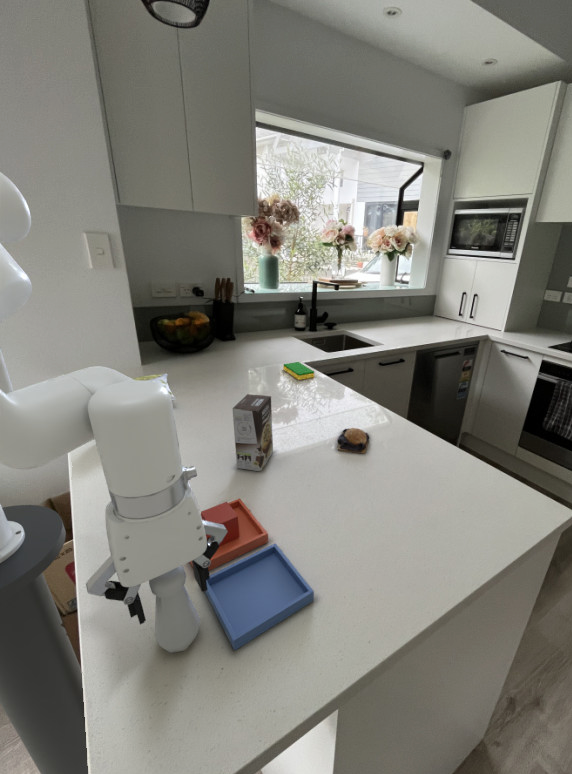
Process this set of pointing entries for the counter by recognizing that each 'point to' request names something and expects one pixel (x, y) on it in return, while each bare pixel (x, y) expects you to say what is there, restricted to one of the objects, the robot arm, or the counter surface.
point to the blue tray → (256, 594)
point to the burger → (353, 440)
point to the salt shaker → (174, 611)
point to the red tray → (248, 540)
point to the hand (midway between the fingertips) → (171, 598)
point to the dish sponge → (298, 370)
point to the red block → (223, 520)
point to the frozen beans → (157, 381)
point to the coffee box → (253, 431)
